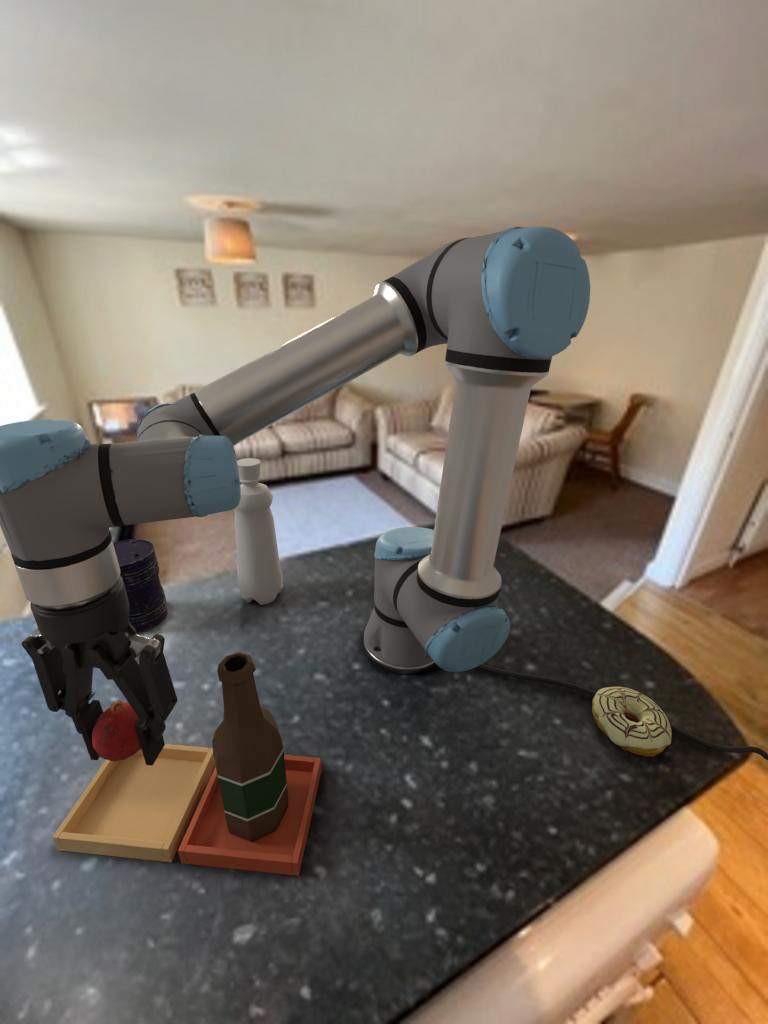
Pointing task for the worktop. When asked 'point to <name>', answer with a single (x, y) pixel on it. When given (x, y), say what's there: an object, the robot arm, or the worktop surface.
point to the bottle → (256, 538)
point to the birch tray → (138, 805)
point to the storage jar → (141, 583)
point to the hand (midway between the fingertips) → (128, 751)
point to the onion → (116, 732)
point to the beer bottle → (248, 755)
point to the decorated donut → (637, 736)
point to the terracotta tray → (267, 854)
